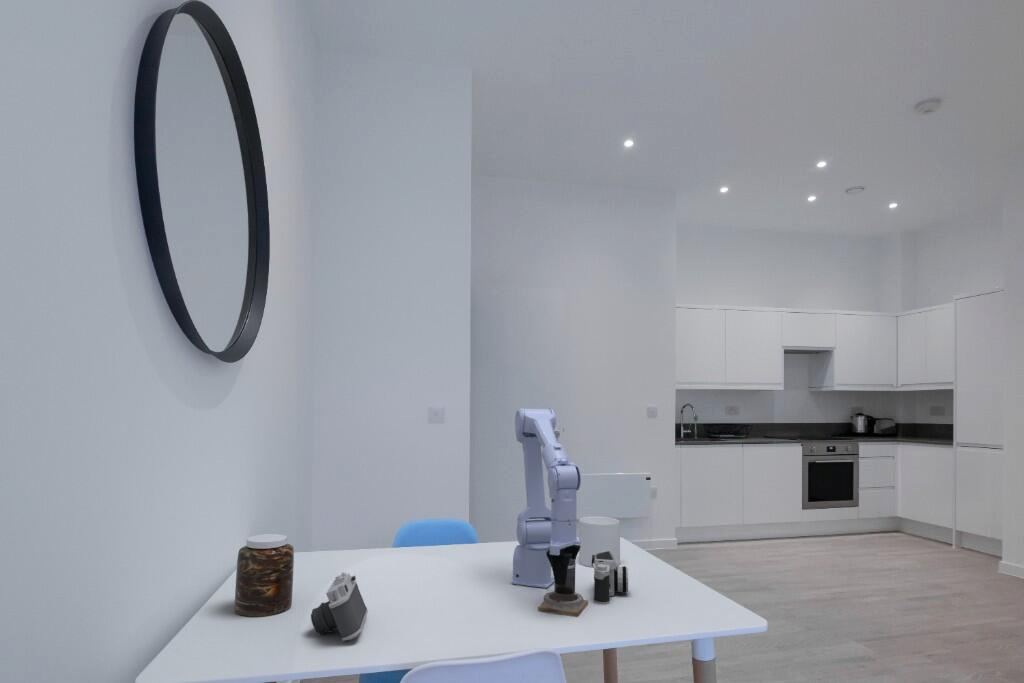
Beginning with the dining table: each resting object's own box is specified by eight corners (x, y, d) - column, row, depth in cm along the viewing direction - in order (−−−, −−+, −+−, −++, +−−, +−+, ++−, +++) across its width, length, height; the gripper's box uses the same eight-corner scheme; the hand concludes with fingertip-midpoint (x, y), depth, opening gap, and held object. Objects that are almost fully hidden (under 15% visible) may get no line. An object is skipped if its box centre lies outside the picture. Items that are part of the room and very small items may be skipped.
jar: (296, 598, 140) (299, 531, 142) (286, 616, 129) (290, 543, 130) (241, 600, 138) (245, 532, 140) (227, 618, 127) (231, 544, 128)
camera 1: (372, 609, 130) (353, 563, 131) (364, 634, 114) (343, 582, 115) (330, 629, 128) (312, 583, 129) (317, 658, 112) (296, 604, 113)
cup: (579, 556, 182) (579, 515, 183) (619, 558, 180) (619, 517, 181) (578, 567, 170) (578, 523, 171) (620, 569, 169) (620, 524, 170)
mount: (537, 611, 134) (537, 599, 134) (550, 599, 142) (550, 587, 142) (577, 616, 131) (577, 604, 131) (587, 604, 139) (587, 592, 139)
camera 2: (629, 607, 138) (629, 561, 139) (590, 604, 139) (590, 559, 140) (627, 586, 153) (626, 545, 154) (592, 584, 155) (592, 543, 156)
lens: (551, 593, 135) (552, 559, 136) (557, 587, 140) (557, 555, 140) (572, 595, 134) (572, 562, 134) (577, 589, 138) (577, 557, 139)
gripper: (572, 526, 130) (572, 592, 129) (588, 515, 144) (588, 574, 142) (540, 523, 133) (540, 588, 131) (560, 513, 146) (559, 571, 145)
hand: (563, 581), depth 137 cm, fingers closed on lens, 5 cm apart
